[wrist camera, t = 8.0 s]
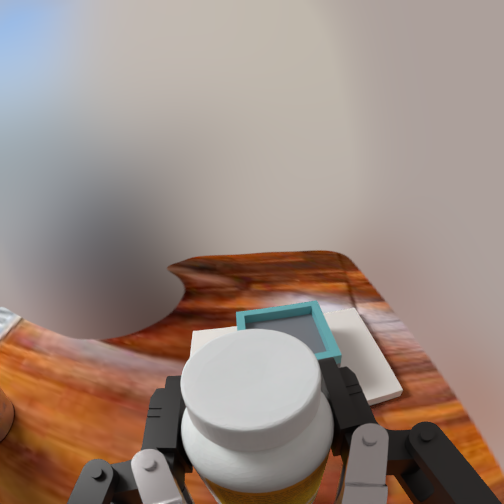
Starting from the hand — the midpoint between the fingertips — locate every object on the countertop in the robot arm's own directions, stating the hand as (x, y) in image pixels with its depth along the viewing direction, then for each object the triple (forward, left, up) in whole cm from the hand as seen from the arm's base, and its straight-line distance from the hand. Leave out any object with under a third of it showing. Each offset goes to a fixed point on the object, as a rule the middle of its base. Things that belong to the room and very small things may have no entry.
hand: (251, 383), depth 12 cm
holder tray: (+3, +13, -14) cm, 19 cm away
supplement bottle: (0, -3, -6) cm, 7 cm away
